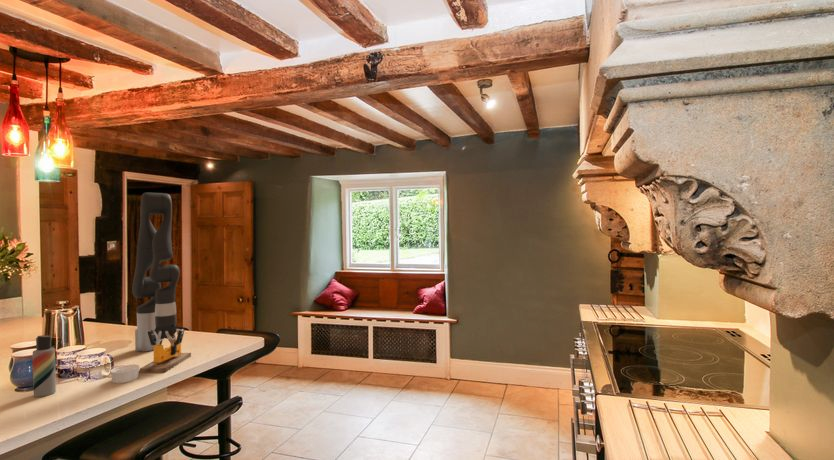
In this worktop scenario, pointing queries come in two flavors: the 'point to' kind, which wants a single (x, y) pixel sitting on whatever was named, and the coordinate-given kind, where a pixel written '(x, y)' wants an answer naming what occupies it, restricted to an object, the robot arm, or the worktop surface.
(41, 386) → the lotion bottle
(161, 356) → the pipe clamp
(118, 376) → the ramekin
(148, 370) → the bolt plate
